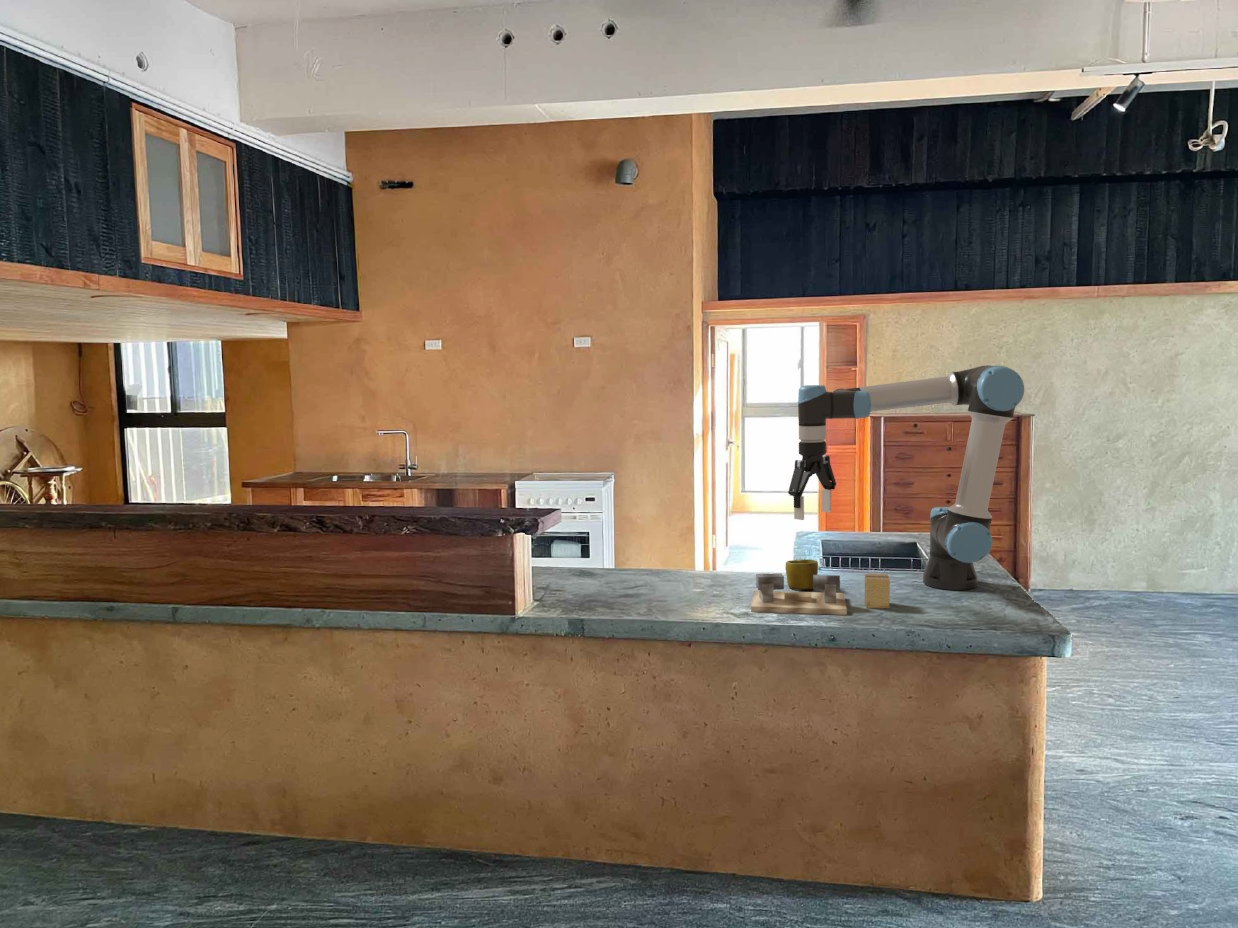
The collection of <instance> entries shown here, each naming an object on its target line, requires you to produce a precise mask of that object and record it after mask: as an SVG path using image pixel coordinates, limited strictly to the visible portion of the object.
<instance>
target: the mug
mask: <svg viewBox="0 0 1238 928" xmlns="http://www.w3.org/2000/svg"><path fill="white" fill-rule="evenodd" d="M818 571H819V563H818V561H817V560H815V559H809V558H808V559H806V558H804V559H801V558H799V559H792V560H787V561H786V562H785V574H786V575H785V576H786V581H787V585H788V588H789V589H790V590H794V591H807V590H813V575H819V574H818Z"/></svg>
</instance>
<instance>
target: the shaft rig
mask: <svg viewBox="0 0 1238 928" xmlns="http://www.w3.org/2000/svg"><path fill="white" fill-rule="evenodd" d="M755 575H756V576H755V577H756V578H755V580H756V581H755V585H756V586H755V587H756V588H757V590H753V594H752V599H751V604H750V610H751V613H778V614H779V613H780V614H781V613H782V614H809V615H810V614H811V615H813V614H815V615H838V616H839V615H842V616H845V615H848V608H847V604H846V598H845V593H843V592H837V591H840V590H841V577H840V575H839V574H838V575H835V574H834V575H830V574H818V575H813V589H812V590H815V591H816V590H818V591H819V592H815V591H812V592H811V591H810V592H809V591H784V589H785V576H784V574H783V573H778V572H777V573H756V574H755ZM775 590H776V591H775ZM778 590H780V591H778ZM820 591H823V592H820Z"/></svg>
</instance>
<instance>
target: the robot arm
mask: <svg viewBox="0 0 1238 928" xmlns="http://www.w3.org/2000/svg"><path fill="white" fill-rule="evenodd" d="M1024 384H1025V383H1024V381H1023V378H1022V377H1021V375H1020V374H1019V373H1018V372H1016V371H1015V370H1014V369H1012V368H1010V367H1008V366H1003V365H980V366H975V367H973V368H972V367H971V368H969V369H963V370H959V371H952V372H949V374H948V375H945V376H939V377H931V378H924V379H923V378H922V379H916V380H914V379H913V380H908V381H907V380H906V381H900V382H889V383H882V384H874V385H868V386H867V385H866V386H859V387H849V388H837V389H834V390H832V391H827V388H826V385H823V384H812V385H811V384H809V385H802V386H800V387H799V388H798V397H797V398H798V399H797V405H798V406H797V409H798V410H797V411H798V412H797V413H798V416H797V417H798V418H797V419H798V440H799V442H798V455H800V456H802V458H801V459H800V460H799V459H795V460H794V469H793V473H792V475H791V476H792V477H791V481H790V484H789V488H788V493H787V494H788V495H789V496H790V497H791V496H792V497H793V510H794V511H793V513H794V514H793V516H794V518H793V519H794V520H800V521H804V520H805V496H804V495H803V494H804V491H805V489H806V486H807V484H808V482H809V479H810V477H812V476H813V475H816V477H817V479H818V480H819V483H820V484H821V486H822V488H821V489H820V490H821V513H822V512H823V513H829V514H831V513H832V490H835V489H836V486H837V481H836V478H835V475H834V471H833V469H832V464H831V460H830V455H826V454H827V442H826V441H825V440H826V439H827V420H832V419H833V420H834V419H835V420H836V419H839V420H840V419H843V420H844V419H857V420H858V419H865V418H869V416H870V415H871V412H880V411H881V412H882V411H888V410H897V409H907V408H915V407H923V406H932V405H940V404H942V405H943V404H951V405H952V406H960V405H961V406H964V405H965V406H968V407H967V408H968V409H967V414H969V416H970V417H971V422H970V427H969V434H968V438H967V442H966V447H965V453H964V457H963V463H962V467H961V473H960V477H959V483H958V487H957V491H956V497H955V502H954V503H953V504H952V505H951V506H937V507H933V508H932V509H931V510H930V516H929V520H930V522H929V523H930V524H929V525H930V526H929V558H928V560H927V564H926V566H925V569H924V572H923V575H922V584H924V585H926V586H928V587H930V588H935V589H940V590H946V591H948V590H950V591H966V590H973V589H975V588H977V587H978V584H979V583H978V576H977V571H976V569H975V568H976V567H975V565H974V563H976V562H979V561H981V560H982V559H985V558H986V557H987V555H989V553H990V551H991V550H992V548H993V536H992V533H991V531H990V530H991V525H992V521H993V520H992V519H993V516H992V514H991V513H990V511H989V510H988V509H989V504H990V501H991V495H992V492H993V485H994V481H995V476H996V472H997V467H998V462H999V457H1000V452H1001V448H1002V442H1003V437H1004V433H1005V428H1006V425H1007V424H1008V423H1009V422H1011V421H1012V420H1014V415H1015V410H1016V407H1017V406H1018V405H1019V404H1020V403H1021V401H1022V400H1023V399H1024V398H1023V397H1024V395H1025V385H1024Z"/></svg>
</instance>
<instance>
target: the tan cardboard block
mask: <svg viewBox="0 0 1238 928" xmlns="http://www.w3.org/2000/svg"><path fill="white" fill-rule="evenodd" d="M890 581H891V580H890V577H889V575H888V573H864V605H866V606H865V608H866V609H884V608H889V609H890V589H891V587H890V583H891V582H890Z"/></svg>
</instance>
